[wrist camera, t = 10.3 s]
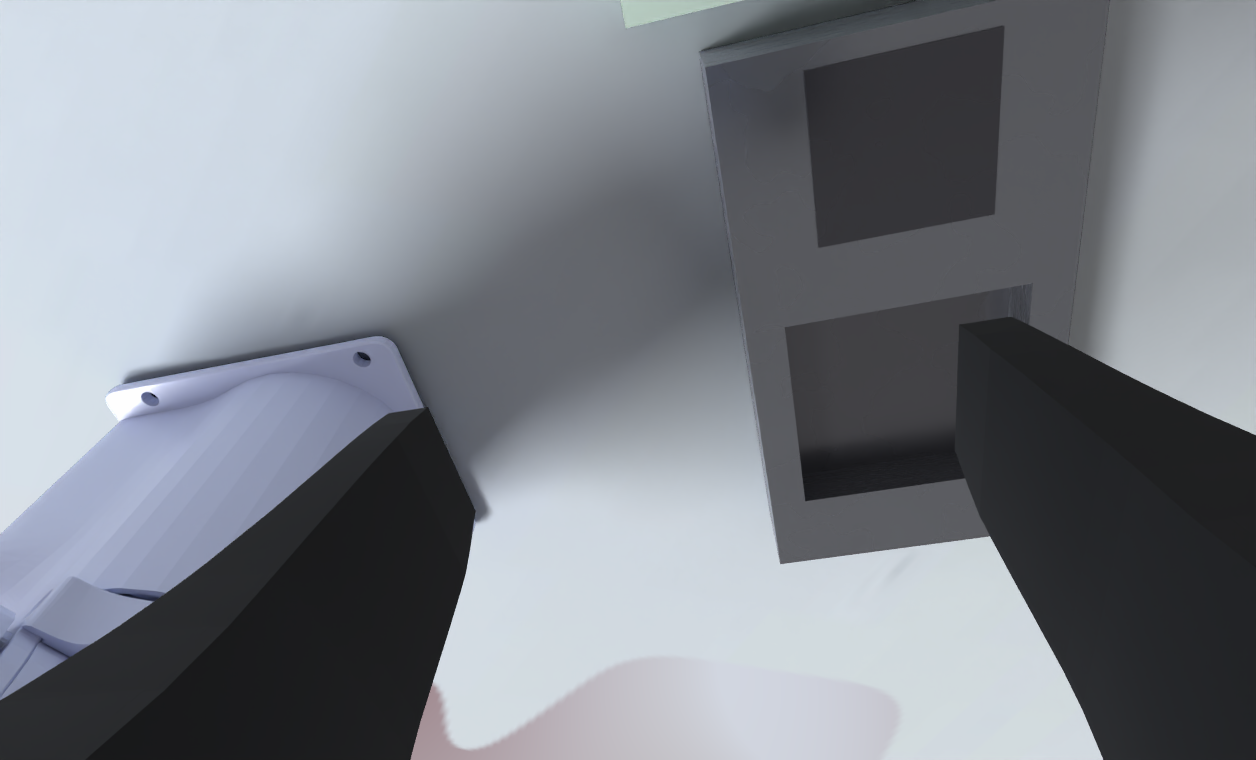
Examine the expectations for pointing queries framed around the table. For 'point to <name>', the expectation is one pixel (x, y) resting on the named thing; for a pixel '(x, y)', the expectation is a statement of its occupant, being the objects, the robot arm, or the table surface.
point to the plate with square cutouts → (895, 241)
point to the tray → (663, 9)
